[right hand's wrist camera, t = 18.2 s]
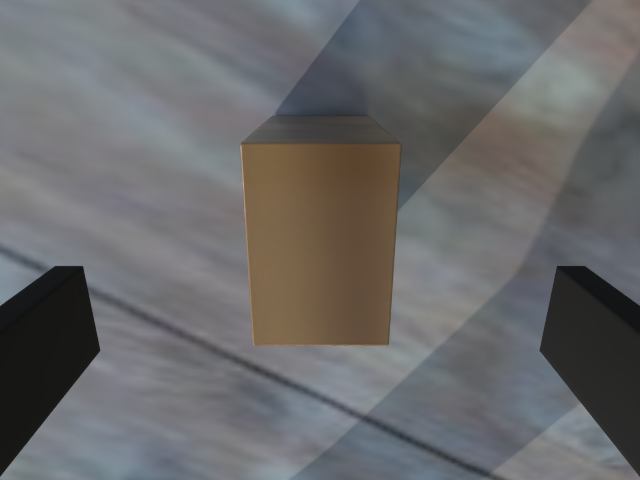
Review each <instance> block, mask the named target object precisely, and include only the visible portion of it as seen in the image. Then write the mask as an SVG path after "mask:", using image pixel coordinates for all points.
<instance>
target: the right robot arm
mask: <svg viewBox="0 0 640 480" xmlns="http://www.w3.org/2000/svg"><path fill="white" fill-rule="evenodd" d="M99 352H100V346H99V342H98V337H97V332H96V327H95V322H94V317H93V312H92V308H91V303H90V298H89V293H88V288H87V283H86V279H85V274H84V269H83V266H55V267H53V268H52V269H51V270H49V271H48V272H46V273H45V274H44V275H42V276H41V277H40V278H38V279H37V280H35V281H34V282H33V283H31V284H30V285H29V286H27V287H26V288H24V289H23V290H22V291H20V292H19V293H17V294H16V295H15V296H13V297H12V298H11V299H9V300H8V301H6V302H5V303H4V304H2V305H1V306H0V476H1V475H2V474H3V472H4V471H5V470H6V469H7V467H8V466H9V465H10V464H11V462H12V461H13V460H14V459H15V457H16V456H17V455H18V454H19V452H20V451H21V450H22V449H23V447H24V446H25V445H26V444H27V442H28V441H29V440H30V438H31V437H32V436H33V435H34V433H35V432H36V431H37V430H38V428H39V427H40V426H41V425H42V423H43V422H44V421H45V420H46V418H47V417H48V416H49V415H50V413H51V412H52V411H53V410H54V408H55V407H56V406H57V404H58V403H59V402H60V401H61V399H62V398H63V397H64V396H65V394H66V393H67V392H68V391H69V389H70V388H71V387H72V386H73V384H74V383H75V382H76V381H77V379H78V378H79V377H80V376H81V374H82V373H83V372H84V371H85V369H86V368H87V367H88V365H89V364H90V363H91V362H92V360H93V359H94V358H95V357H96V355H97V354H98V353H99ZM540 352H541V353H542V354H543V355H544V357H545V358H546V359H547V360H548V362H549V363H550V364H551V365H552V367H553V368H554V369H555V371H556V372H557V373H558V374H559V376H560V377H561V378H562V379H563V381H564V382H565V383H566V384H567V386H568V387H569V388H570V389H571V391H572V392H573V393H574V394H575V396H576V397H577V398H578V399H579V401H580V402H581V403H582V404H583V406H584V407H585V408H586V410H587V411H588V412H589V413H590V415H591V416H592V417H593V418H594V420H595V421H596V422H597V423H598V425H599V426H600V427H601V428H602V430H603V431H604V432H605V433H606V435H607V436H608V437H609V438H610V440H611V441H612V442H613V444H614V445H615V446H616V447H617V449H618V450H619V451H620V452H621V454H622V455H623V456H624V457H625V459H626V460H627V461H628V462H629V464H630V465H631V466H632V467H633V469H634V470H635V471H636V472H637V474H638V475H639V476H640V306H639V305H638V304H636V303H635V302H634V301H632V300H631V299H629V298H628V297H627V296H625V295H624V294H623V293H621V292H620V291H618V290H617V289H616V288H614V287H613V286H611V285H610V284H609V283H607V282H606V281H605V280H603V279H602V278H600V277H599V276H598V275H596V274H595V273H594V272H592V271H591V270H589V269H588V268H587V267H585V266H557V269H556V274H555V279H554V283H553V288H552V293H551V298H550V303H549V308H548V312H547V317H546V322H545V327H544V332H543V337H542V342H541V346H540Z"/></svg>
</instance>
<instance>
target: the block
mask: <svg viewBox="0 0 640 480" xmlns="http://www.w3.org/2000/svg"><path fill="white" fill-rule="evenodd" d="M240 151H241V167H242V183H243V198H244V214H245V230H246V246H247V262H248V278H249V293H250V309H251V325H252V341H253V345H254V346H387V345H388V344H389V334H390V318H391V302H392V287H393V271H394V255H395V239H396V224H397V208H398V192H399V177H400V161H401V143H400V142H399V141H398V140H397V139H395V138H394V137H393V136H392V135H391V134H390V133H388V132H387V131H386V130H385V129H384V128H383V127H381V126H380V125H379V124H378V123H377V122H375V121H374V120H373V119H372V118H371V117H370V116H272V117H270V118H269V119H268V120H267V121H266V122H265V123H263V124H262V125H261V126H260V127H259V128H258V129H257V130H255V131H254V132H253V133H252V134H251V135H250V136H248V137H247V138H246V139H245V140H244V141H243V142H241V144H240Z"/></svg>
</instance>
